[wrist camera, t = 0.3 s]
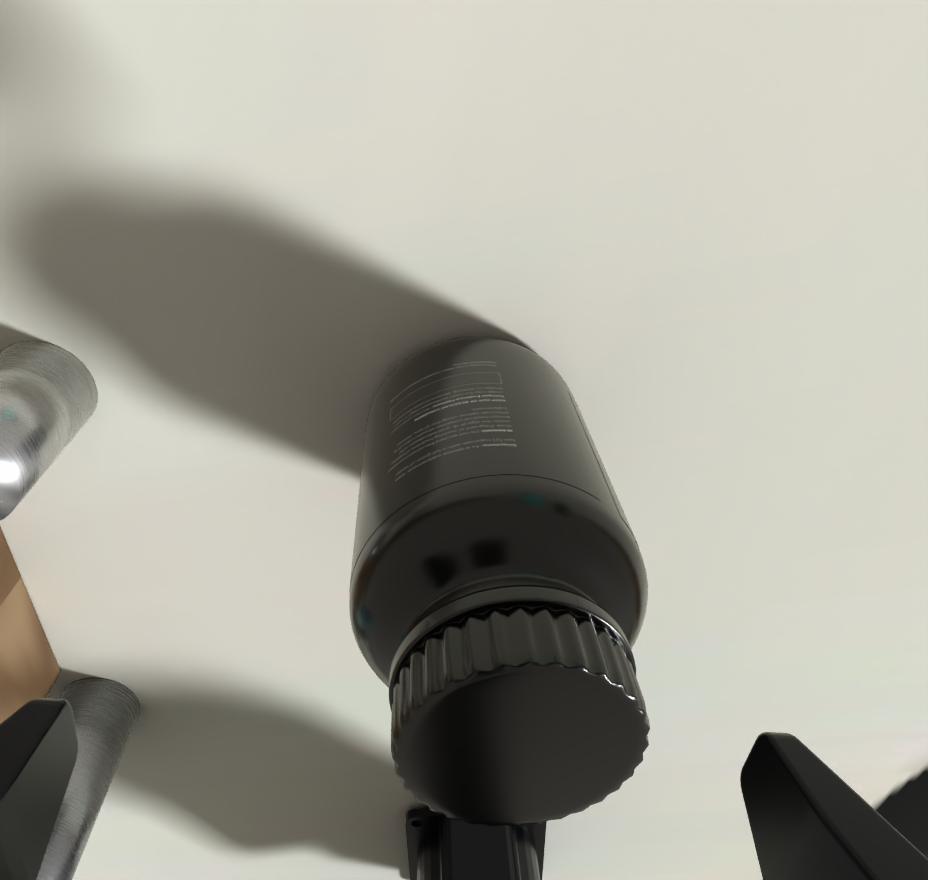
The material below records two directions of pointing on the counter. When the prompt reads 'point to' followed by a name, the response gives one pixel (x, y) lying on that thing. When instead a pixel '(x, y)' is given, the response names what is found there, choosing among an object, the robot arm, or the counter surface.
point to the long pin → (89, 767)
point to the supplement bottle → (497, 588)
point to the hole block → (21, 642)
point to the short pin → (38, 413)
